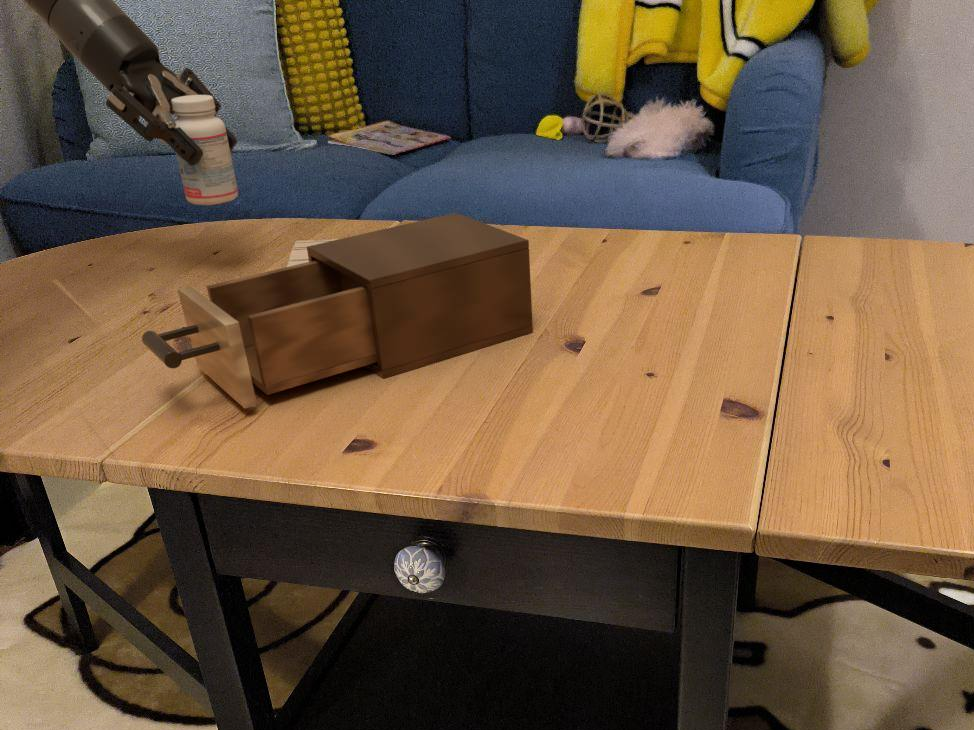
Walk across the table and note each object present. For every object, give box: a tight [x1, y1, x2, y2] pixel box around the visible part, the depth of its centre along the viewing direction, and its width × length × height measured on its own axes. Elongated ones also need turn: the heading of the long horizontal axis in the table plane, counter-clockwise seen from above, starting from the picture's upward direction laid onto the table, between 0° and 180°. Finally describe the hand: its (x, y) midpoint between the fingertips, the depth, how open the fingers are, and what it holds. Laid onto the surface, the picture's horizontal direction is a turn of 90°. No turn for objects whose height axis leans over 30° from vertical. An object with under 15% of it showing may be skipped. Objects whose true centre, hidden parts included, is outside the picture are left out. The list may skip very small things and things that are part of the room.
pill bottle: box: [171, 95, 239, 206], centre depth 113 cm, size 6×6×11 cm
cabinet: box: [307, 212, 534, 379], centre depth 98 cm, size 18×14×10 cm
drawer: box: [141, 260, 378, 409], centre depth 90 cm, size 22×12×8 cm, turn 126°
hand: (215, 153), depth 112 cm, fingers closed on pill bottle, 6 cm apart
